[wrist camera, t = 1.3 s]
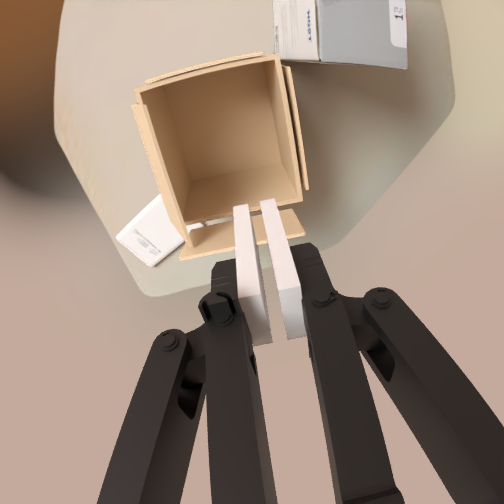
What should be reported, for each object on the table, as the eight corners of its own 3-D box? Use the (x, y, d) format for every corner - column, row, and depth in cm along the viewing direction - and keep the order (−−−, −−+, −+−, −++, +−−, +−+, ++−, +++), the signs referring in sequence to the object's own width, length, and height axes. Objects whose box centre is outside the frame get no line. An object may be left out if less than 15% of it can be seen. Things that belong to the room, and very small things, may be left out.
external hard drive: (204, 221, 49) (153, 263, 53) (167, 185, 45) (117, 233, 49) (204, 226, 48) (151, 269, 52) (165, 189, 44) (114, 238, 48)
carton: (157, 76, 35) (131, 85, 25) (269, 50, 34) (286, 48, 24) (189, 184, 45) (178, 228, 35) (289, 163, 44) (310, 201, 34)
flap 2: (178, 257, 28) (179, 260, 28) (304, 231, 27) (305, 235, 27) (190, 229, 34) (191, 232, 34) (291, 208, 34) (292, 210, 34)
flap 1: (134, 104, 26) (131, 105, 26) (146, 104, 21) (142, 106, 21) (173, 220, 34) (170, 221, 33) (192, 246, 28) (189, 247, 28)
